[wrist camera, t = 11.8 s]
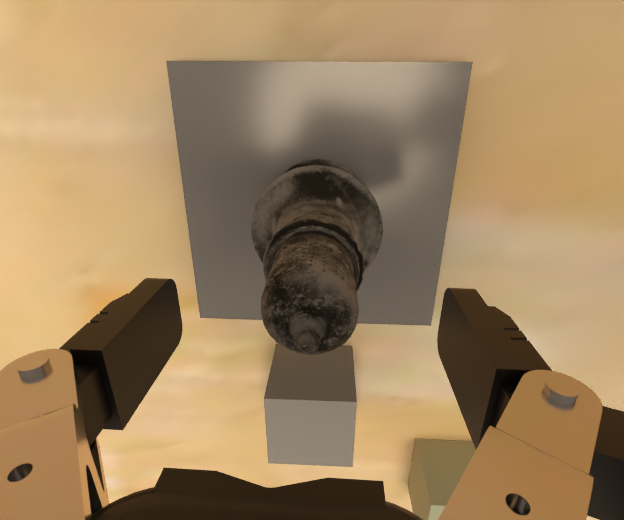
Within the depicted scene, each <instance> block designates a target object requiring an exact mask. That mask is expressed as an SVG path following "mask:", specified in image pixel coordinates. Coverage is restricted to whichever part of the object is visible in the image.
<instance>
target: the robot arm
mask: <svg viewBox="0 0 624 520" xmlns="http://www.w3.org/2000/svg"><path fill="white" fill-rule="evenodd" d="M181 336H182V320H181V313H180V307H179V301H178V294H177V288H176V284H175V282H174V281H173V280H172V279H157V278H146V279H144V280H143V281H142V282H141V283H140V284H139V285H138V286H137V287H136V288H135V289H133V290H132V291H131V292H130V293H129V294H126V295H124V296H122V297H120V298H118V299H116V300H114V301H112V302H110V303H109V304H108V305H107V306H106V307H105V308H104V309H103V310H102V311H100V314H97V315H96V316H95V317H94V318H93V319H92V320H90V323H87V324H86V325H85V326H84V327H83V328H82V329H80V330H79V331H78V332H77V333H76V334H75V335H74V336H73V337H72V338H70V339H69V340H68V341H67V342H66V343H65V344H64V345H63V346H61V347H60V348H59V349H47V350H41V351H37V352H33V353H30V354H28V355H25V356H23V357H20V358H18V359H16V360H15V361H13V362H11V363H10V364H8V365H7V366H5V367H4V368H3V369H2V370H1V371H0V520H423V519H422V518H420V517H419V516H417V515H415V514H413V513H412V512H410V511H408V510H406V509H404V508H402V507H400V506H398V505H396V504H393V503H390V502H387V501H385V494H384V486H383V481H371V480H355V479H338V478H324V479H319V480H313V481H308V482H303V483H297V484H292V485H286V486H281V487H276V488H266V487H262V486H259V485H256V484H253V483H251V482H248V481H245V480H242V479H239V478H236V477H233V476H230V475H227V474H224V473H221V472H218V471H208V470H192V469H176V468H164V469H163V471H162V473H161V475H160V477H159V479H158V481H157V483H156V486H155V487H153V488H148V489H145V490H142V491H138V492H135V493H133V494H130V495H128V496H125V497H123V498H120V499H118V500H116V501H114V502H112V503H110V504H109V499H108V493H107V488H106V482H105V476H104V470H103V464H102V458H101V452H100V446H99V443H98V440H97V436H98V435H99V433H100V432H101V431H102V429H113V430H123V429H124V428H125V426H126V425H127V423H128V421H129V420H130V418H131V417H132V415H133V414H134V412H135V411H136V409H137V408H138V406H139V404H140V403H141V401H142V400H143V398H144V397H145V395H146V394H147V392H148V391H149V389H150V388H151V386H152V384H153V383H154V381H155V380H156V378H157V377H158V375H159V374H160V372H161V371H162V369H163V368H164V366H165V364H166V363H167V361H168V360H169V358H170V357H171V355H172V354H173V352H174V351H175V349H176V347H177V346H178V344H179V342H180V339H181ZM437 342H438V352H439V356H440V359H441V361H442V364H443V366H444V369H445V371H446V374H447V377H448V379H449V382H450V384H451V387H452V389H453V392H454V395H455V397H456V400H457V402H458V405H459V407H460V410H461V413H462V415H463V418H464V420H465V423H466V425H467V428H468V431H469V433H470V436H471V438H472V441H473V443H474V446H475V449H476V451H475V453H474V455H473V457H472V458H471V460H470V462H469V464H468V466H467V468H466V469H465V471H464V473H463V475H462V477H461V479H460V480H459V482H458V484H457V486H456V488H455V490H454V491H453V493H452V495H451V497H450V499H449V501H448V502H447V504H446V506H445V508H444V510H443V511H442V513H441V515H440V517H439V519H438V520H586V518H587V515H588V516H591V517H594V518H597V519H599V520H624V412H623V411H619V410H615V409H611V408H608V407H604V406H602V403H601V401H600V399H599V397H598V396H597V395H596V394H595V393H594V392H593V391H592V390H591V389H590V388H589V387H587V386H586V385H585V384H583V383H581V382H580V381H578V380H576V379H574V378H572V377H570V376H567V375H565V374H562V373H559V372H555V371H552V370H551V369H550V367H549V366H548V365H547V364H546V362H545V361H544V360H543V358H542V357H541V356H540V355H539V353H538V352H537V351H536V349H535V348H534V347H533V346H532V344H531V343H530V342H529V341H527V338H526V337H525V335H524V334H523V333H522V332H521V331H519V328H518V326H517V325H516V324H515V323H514V321H513V320H512V319H511V317H510V316H508V315H507V314H505V313H504V312H502V311H501V310H499V309H498V308H496V307H494V306H487V305H486V303H485V302H484V300H483V299H482V298H481V296H480V295H479V293H478V292H477V291H476V290H475V289H461V288H447V289H446V291H445V294H444V298H443V305H442V311H441V317H440V324H439V330H438V339H437Z"/></svg>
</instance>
